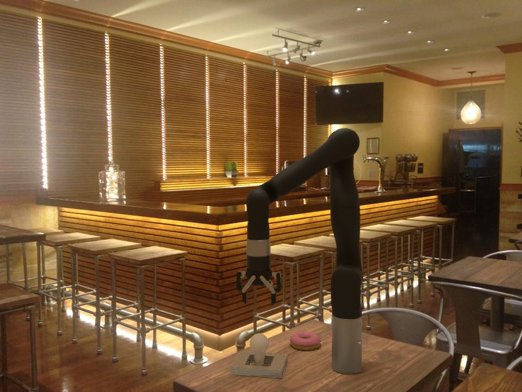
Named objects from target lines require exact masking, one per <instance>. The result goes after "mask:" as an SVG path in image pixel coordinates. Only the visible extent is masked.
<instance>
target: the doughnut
mask: <svg viewBox="0 0 522 392" xmlns="http://www.w3.org/2000/svg"><path fill="white" fill-rule="evenodd" d="M289 339H290V340H289V341H290V345H291V346H292V348H294V349H297V350H301V351H312V350H317V349H318V348H319V347H320V345H321V341H322V340H321V336H320V335H319V334H317V332H313V331H310V330H308V331H307V330H305V331H304V330H299V331H296V332H294V333H293V334H291V336H290V338H289Z"/></svg>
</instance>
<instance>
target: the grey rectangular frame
mask: <svg viewBox="0 0 522 392" xmlns="http://www.w3.org/2000/svg"><path fill="white" fill-rule="evenodd" d="M250 363H255V358H254V353H253V351H244V350H239V352H238V353H237V354H236V356H235V358H234V360H233V361H232V363H231V365H230V369H229V370H230V375H236V376H244V377H245V376H248V377H256V378H257V377H258V378H269V379H270V378H271V379H273V378H274V379H281V380H282V379H283V376H284V374H285V370H286V368H287V365H288V354H285V353H283V354H282V353H272V352H271V353H270V352H266V353H265V358H264V364H270V365H269V366H265V365H263V366H256V365H255V364H253V365H251V364H250Z"/></svg>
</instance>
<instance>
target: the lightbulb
mask: <svg viewBox="0 0 522 392" xmlns="http://www.w3.org/2000/svg"><path fill="white" fill-rule="evenodd" d="M269 346H270V342H269V339H268V337H267V336H266V334H263V333H256V334H253V336H251V338H250V340H249V348H250V349H251V352H253V353H254V358H255V362H254V363H255V366H265V365H264V364H265V363H264V358H265V353H267V351H268V348H269Z"/></svg>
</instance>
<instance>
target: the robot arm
mask: <svg viewBox="0 0 522 392" xmlns="http://www.w3.org/2000/svg"><path fill="white" fill-rule="evenodd" d="M360 141H361V139H360V137H359V135H358V133H357V132H356V131H355V130H353V129H352V128H348V127H342V128H341V127H340V128H338V129H336V130H334V131H332V132H331V133H330V134H329V136H328V137H327V140H325V142H323V143H322V144H321V145H320V146H319V147H317V149H315V150H314V151H313V152H311V153H309V154H307V155H306V156H304V157H302V158H301V159H299V160H297V161H296V162H294V163H292V164H290V165H289V166H287V167H286V168H283V169H282V170H281V171H279V172H277V174H275V175H274V176H272V177H271V178H270V179H269V180H267V181H264V183H262V184H260V185H258V186H257V187H255V188H253V189H252V190H250V191H249V193H248V194H247V196H246V198H245V201H246V203H245V205H246V218H247V223H246V224H247V225H246V249H245V250H246V251H245V254H246V271H245V270H242V269H239V270H238V271H237V272H236V285H235V290H237V291H239V292H241V295H242V296H241V297H242V303H244V305H247V304H248V303H249V291H248V289H249V288H250V287H251V285H252V286H260V287H264V286H265V287H266V288H267V289H268V290H269V291H270V292H271V293H270V306H274V305H275V304H276V303H277V301H278V300H277V293H280V292H281V291H282V290H283V278H282V272H281V270H279V271H276V272H275V271H272V265H271V264H272V261H271V260H272V251H271V248H272V245H271V237H270V235H271V234H270V231H271V230H270V221H269V220H270V219H269V218H270V205H271V204H273V203H274V202H276V201H277V200H278V199H280V198H283V197H285V196H288V195H289V194H290V193H291V192H293V191H294V190H296V189H298V188H299V187H300V186H302V185H303V184H305V183H306V182H307V181H309V180H310V179H312V178H313V177H315V176H316V175H317V174H319V173H320V172H322V171H323V170H325V169H327V168H328V167H329V170H330V183H329V184H330V187H329V211H330V213H329V214H330V215H329V216H330V217H329V218H330V224H331V225H330V226H331V230H332V235H333V237H334V240H335V247H336V260H335V261H336V263H335V270H334V271H333V272H332V274H331V277H330V306H331V368H332V369H333V371H335V372H337V373H339V374H344V375H354V374H357V373H359V374H360V373H362V366H363V365H362V361H363V359H362V358H363V356H362V355H363V353H362V351H363V349H362V348H363V346H362V344H363V342H362V336H363V332H362V330H363V327H362V326H363V325H362V322H363V306H362V284H363V282H364V272H363V265H362V257H361V251H360V248H361V247H360V243H361V241H360V240H361V201H360V195H359V190H358V186H357V182H356V179H355V170H354V168H355V166H354V164H355V163H354V162H355V154H356V153H357V152H358V151H359V148H360V144H361V142H360ZM244 277H246V278H247V280H248V281H247V282H246V284H245V285H244V286H243V278H244ZM272 277H273V278H274V280H276V287H275V285H274V283H273V282H272V280H271V278H272Z"/></svg>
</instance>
